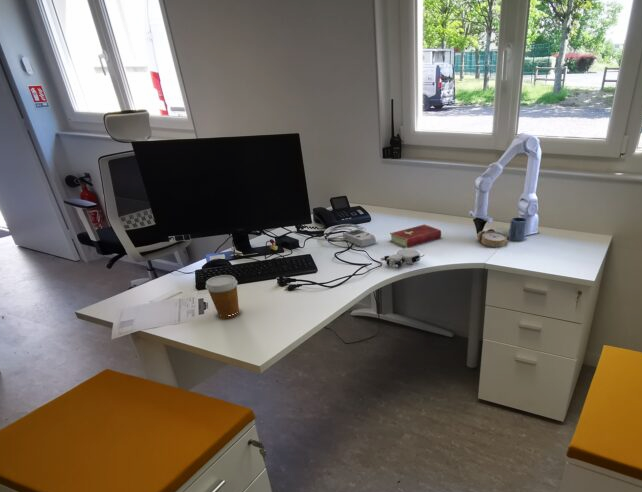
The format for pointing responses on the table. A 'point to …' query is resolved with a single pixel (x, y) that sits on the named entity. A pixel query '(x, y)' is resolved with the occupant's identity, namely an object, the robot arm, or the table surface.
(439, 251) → the table surface
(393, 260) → the robot toy
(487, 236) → the alarm clock
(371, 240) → the handheld gaming device
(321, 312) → the table surface
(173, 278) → the table surface
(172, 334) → the table surface
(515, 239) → the pen pot
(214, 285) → the disposable coffee cup
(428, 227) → the hardcover book
